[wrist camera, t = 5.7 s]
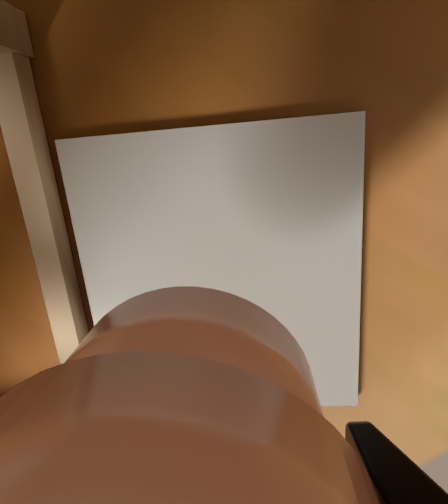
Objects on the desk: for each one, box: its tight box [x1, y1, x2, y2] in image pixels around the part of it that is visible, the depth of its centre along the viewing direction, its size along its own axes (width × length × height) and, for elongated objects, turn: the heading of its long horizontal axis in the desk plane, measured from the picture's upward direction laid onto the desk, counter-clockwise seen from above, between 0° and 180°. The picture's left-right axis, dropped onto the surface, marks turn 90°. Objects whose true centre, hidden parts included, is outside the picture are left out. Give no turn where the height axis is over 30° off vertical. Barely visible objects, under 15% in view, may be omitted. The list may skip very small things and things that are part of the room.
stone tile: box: [55, 111, 366, 406], centre depth 15 cm, size 12×11×1 cm
